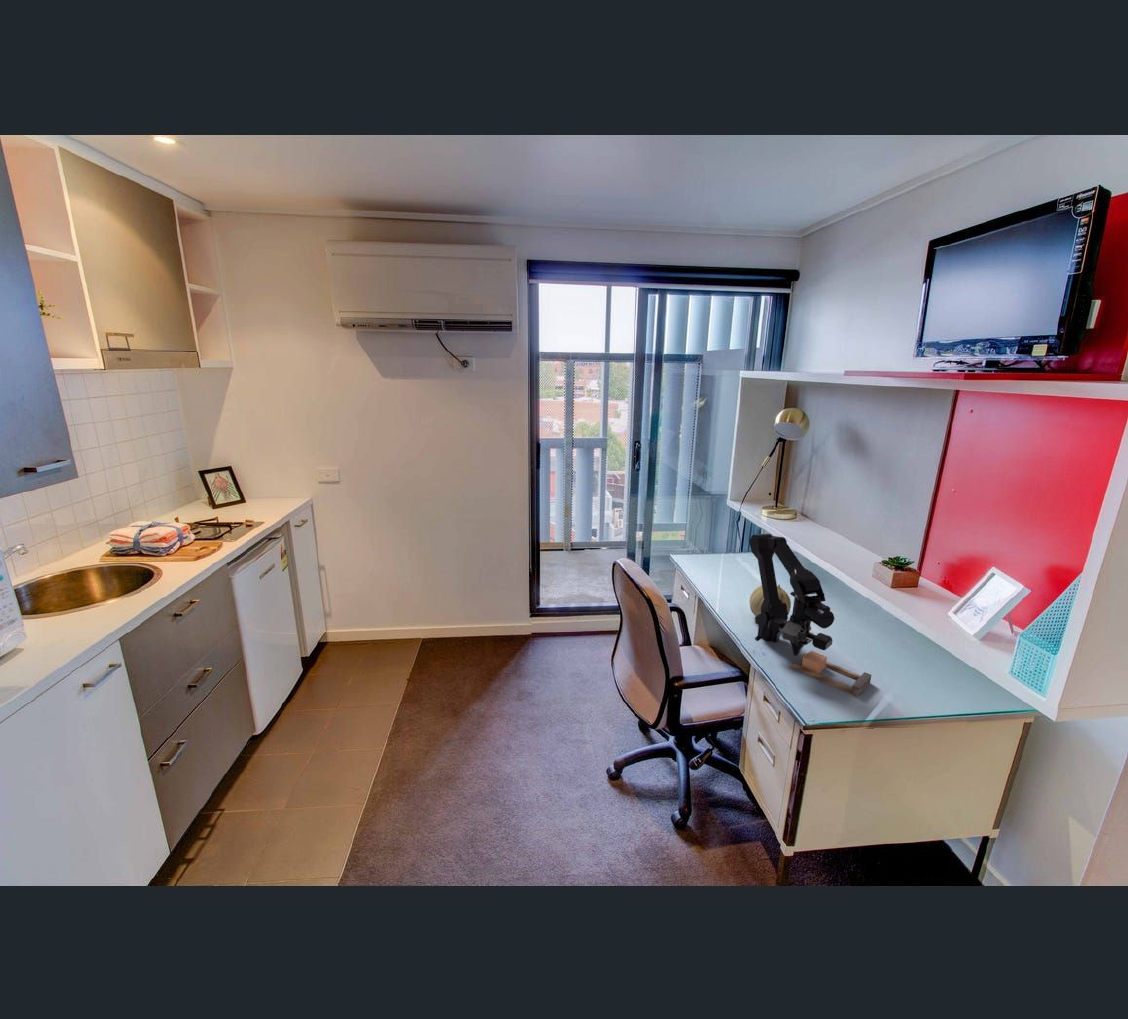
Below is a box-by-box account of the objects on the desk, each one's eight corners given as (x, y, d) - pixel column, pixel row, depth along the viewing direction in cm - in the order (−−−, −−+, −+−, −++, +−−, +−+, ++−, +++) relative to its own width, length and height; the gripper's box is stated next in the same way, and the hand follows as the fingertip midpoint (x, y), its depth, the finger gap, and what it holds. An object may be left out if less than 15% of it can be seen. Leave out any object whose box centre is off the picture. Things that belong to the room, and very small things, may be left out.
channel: (790, 669, 160) (792, 659, 159) (804, 658, 167) (805, 648, 166) (857, 699, 146) (859, 688, 145) (869, 686, 152) (871, 674, 151)
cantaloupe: (739, 616, 195) (743, 581, 191) (765, 608, 201) (770, 574, 197) (769, 633, 182) (774, 596, 178) (796, 624, 189) (802, 588, 185)
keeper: (801, 667, 159) (803, 657, 158) (809, 660, 163) (811, 650, 162) (817, 674, 156) (819, 663, 155) (825, 667, 160) (827, 656, 159)
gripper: (762, 610, 161) (757, 652, 165) (821, 632, 147) (814, 677, 151) (778, 600, 168) (773, 640, 172) (836, 620, 154) (829, 664, 158)
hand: (795, 655), depth 163 cm, fingers closed
